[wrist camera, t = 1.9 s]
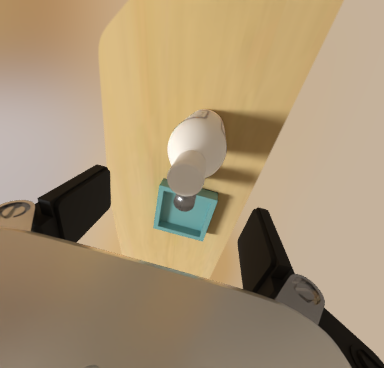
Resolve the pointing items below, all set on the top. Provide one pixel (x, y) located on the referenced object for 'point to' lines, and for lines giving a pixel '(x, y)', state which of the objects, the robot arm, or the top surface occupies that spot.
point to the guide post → (184, 202)
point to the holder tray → (184, 213)
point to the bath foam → (195, 151)
